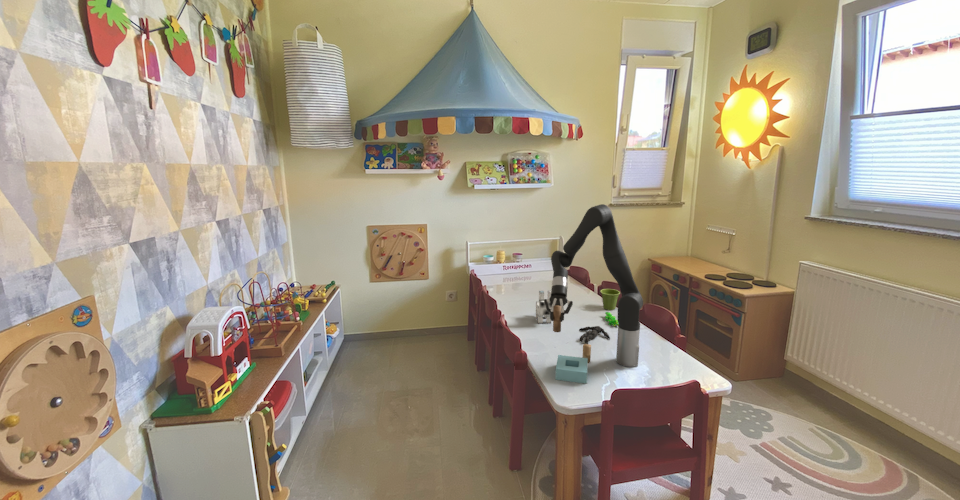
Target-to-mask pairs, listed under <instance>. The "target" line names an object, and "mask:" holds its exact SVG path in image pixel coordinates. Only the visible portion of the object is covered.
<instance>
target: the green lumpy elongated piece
mask: <svg viewBox="0 0 960 500" xmlns="http://www.w3.org/2000/svg"><path fill="white" fill-rule="evenodd" d="M604 314H605V316H604V321H605V322H607V323H608V325H609V326H613V327H616V326H617V327H618V319H617V317H616V316H615V315H613V314H612V312H610V311H605V313H604Z"/></svg>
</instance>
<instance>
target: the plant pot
mask: <svg viewBox="0 0 960 500" xmlns="http://www.w3.org/2000/svg"><path fill="white" fill-rule="evenodd" d="M599 292H600V293H601V298H602V307H603V309H604V310H608V311H615V309H616V307H617V304H618V299H619V295H620V294H621V291H619V290H618V289H613V288H603V289H600V291H599Z"/></svg>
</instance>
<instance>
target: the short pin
mask: <svg viewBox="0 0 960 500" xmlns="http://www.w3.org/2000/svg"><path fill="white" fill-rule="evenodd" d="M591 349H592V345H591V344H589V343H588V344H587V343H583V344H582V357H581V358H588V364H590V363H591V355H592V350H591Z"/></svg>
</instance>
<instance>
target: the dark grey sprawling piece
mask: <svg viewBox="0 0 960 500" xmlns="http://www.w3.org/2000/svg"><path fill="white" fill-rule="evenodd" d="M578 330H579V332H584V331H585V333H583V334H582V335H580V336H579V342H580V341H581V342H580V343H582V342H584V344H589V341H590V340H595V339H596V338H597V336H598V335H599V334H603V336H604V337H605V338H607V339H608V340H609V341H610V339H611V338H610V335H609V334H608V332H607V331H605V329H604V328H603V327H601V326H600V325H595V326H585V327H581V328H579V329H578Z"/></svg>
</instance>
